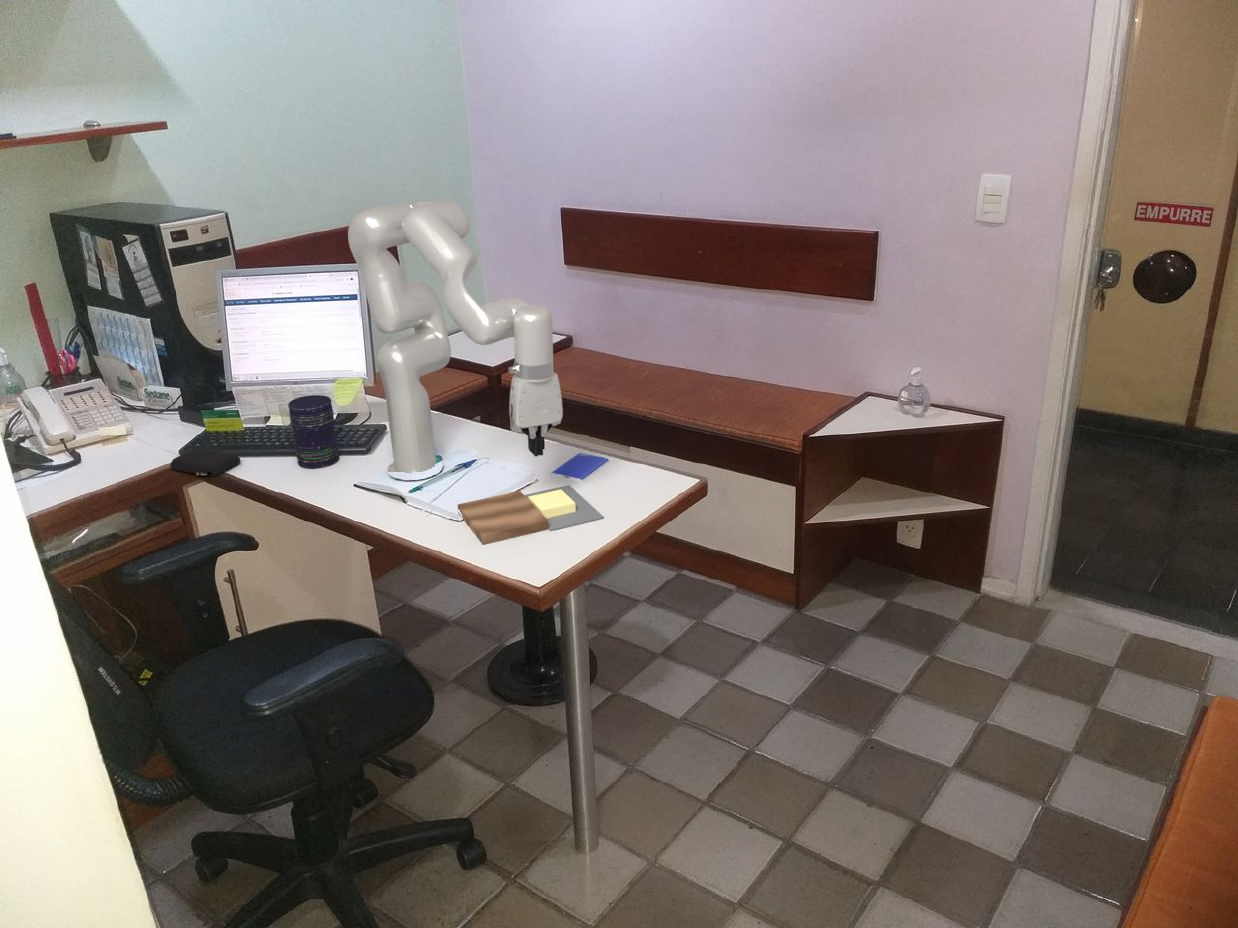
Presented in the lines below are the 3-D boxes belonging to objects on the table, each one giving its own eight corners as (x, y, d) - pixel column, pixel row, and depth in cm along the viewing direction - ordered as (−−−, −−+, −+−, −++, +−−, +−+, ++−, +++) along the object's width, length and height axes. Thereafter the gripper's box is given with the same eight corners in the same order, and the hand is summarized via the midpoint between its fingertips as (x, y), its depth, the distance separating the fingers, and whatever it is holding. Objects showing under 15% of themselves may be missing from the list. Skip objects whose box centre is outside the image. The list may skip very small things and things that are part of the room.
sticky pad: (528, 505, 206) (528, 496, 206) (561, 497, 209) (561, 489, 209) (542, 519, 200) (541, 510, 199) (575, 511, 203) (575, 503, 202)
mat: (518, 497, 211) (518, 496, 211) (569, 486, 215) (569, 484, 215) (550, 531, 196) (550, 529, 196) (604, 518, 201) (604, 517, 200)
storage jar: (335, 468, 227) (326, 408, 221) (293, 470, 227) (282, 410, 221) (343, 451, 236) (335, 394, 230) (303, 453, 236) (293, 395, 230)
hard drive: (578, 452, 231) (551, 471, 221) (608, 458, 227) (582, 478, 217) (578, 458, 231) (551, 478, 221) (608, 464, 228) (582, 484, 218)
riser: (458, 512, 204) (457, 504, 203) (520, 499, 210) (519, 490, 209) (483, 544, 191) (482, 535, 190) (548, 529, 197) (548, 520, 196)
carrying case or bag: (163, 473, 227) (212, 482, 222) (161, 461, 226) (210, 470, 221) (197, 456, 236) (245, 464, 231) (195, 445, 235) (243, 453, 230)
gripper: (505, 380, 185) (508, 467, 193) (576, 369, 191) (577, 454, 199) (492, 368, 192) (496, 453, 199) (561, 358, 198) (562, 440, 205)
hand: (536, 453), depth 199 cm, fingers closed
